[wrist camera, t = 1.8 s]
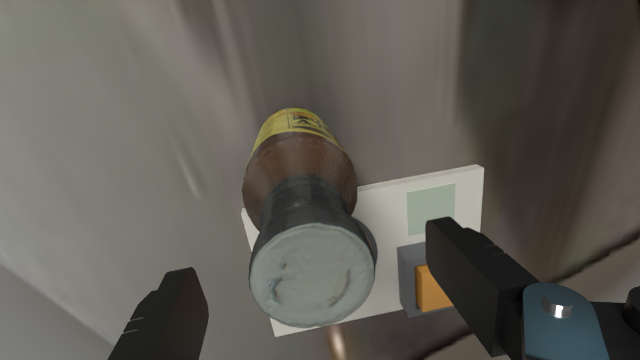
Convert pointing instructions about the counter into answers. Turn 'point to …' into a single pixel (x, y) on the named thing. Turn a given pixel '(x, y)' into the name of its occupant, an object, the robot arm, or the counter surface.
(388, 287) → the white control panel
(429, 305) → the button
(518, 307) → the robot arm
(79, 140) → the counter surface
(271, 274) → the sauce bottle
